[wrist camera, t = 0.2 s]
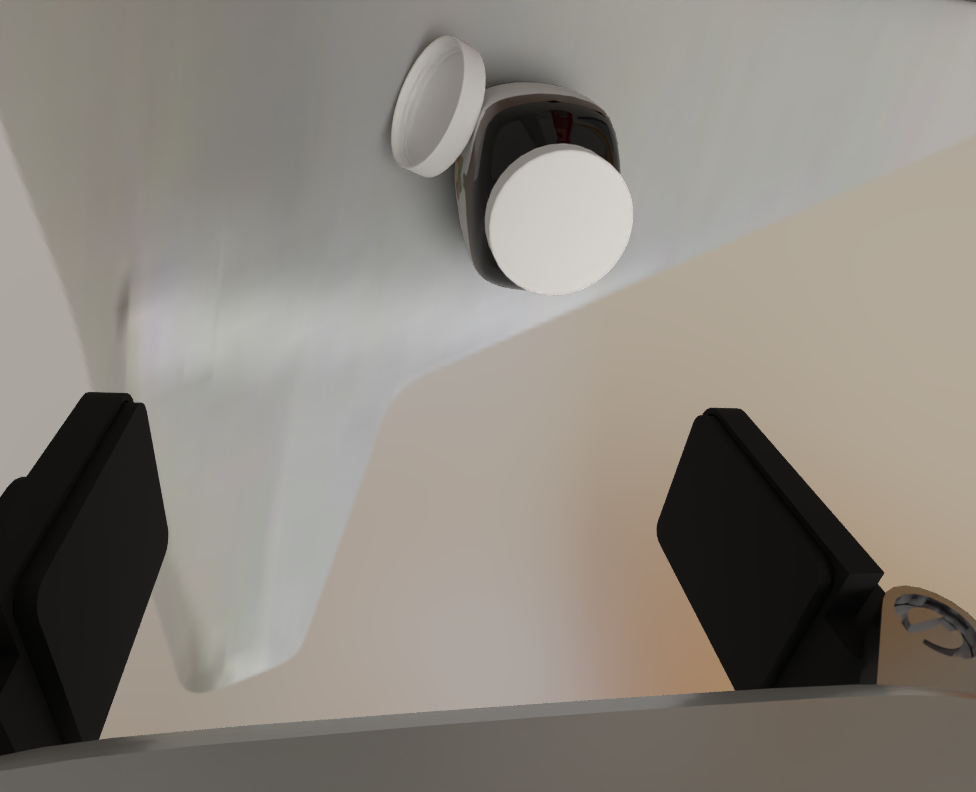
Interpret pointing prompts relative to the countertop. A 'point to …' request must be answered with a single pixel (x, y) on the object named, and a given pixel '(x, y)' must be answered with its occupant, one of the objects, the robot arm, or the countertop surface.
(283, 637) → the countertop surface
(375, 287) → the countertop surface
